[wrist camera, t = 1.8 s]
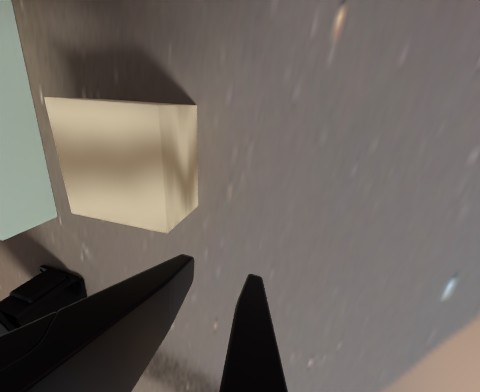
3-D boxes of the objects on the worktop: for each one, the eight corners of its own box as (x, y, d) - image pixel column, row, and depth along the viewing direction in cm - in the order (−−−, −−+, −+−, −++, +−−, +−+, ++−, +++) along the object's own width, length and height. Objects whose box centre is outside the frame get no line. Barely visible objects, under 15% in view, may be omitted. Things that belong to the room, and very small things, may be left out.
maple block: (199, 204, 20) (167, 233, 16) (120, 191, 22) (71, 213, 17) (198, 105, 17) (158, 105, 13) (107, 99, 19) (44, 96, 14)
